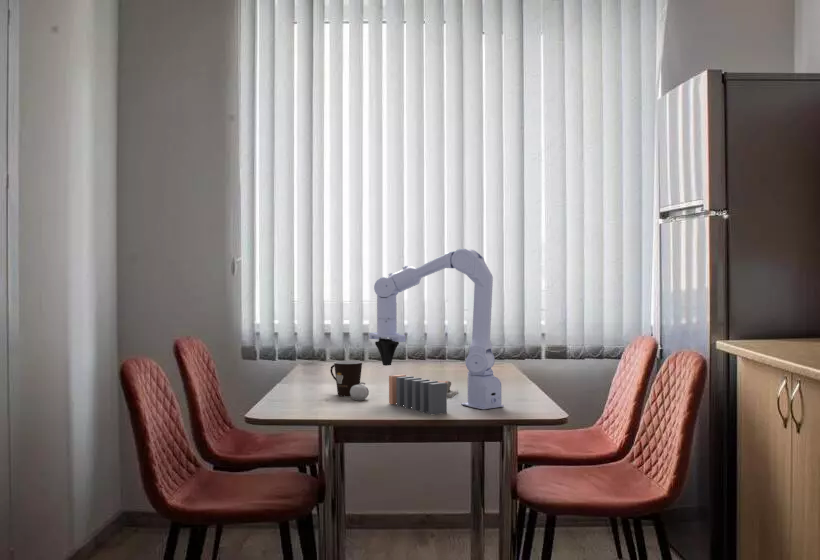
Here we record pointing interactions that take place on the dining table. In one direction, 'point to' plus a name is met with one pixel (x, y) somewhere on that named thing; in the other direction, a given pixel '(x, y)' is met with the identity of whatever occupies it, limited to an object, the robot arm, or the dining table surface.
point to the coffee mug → (346, 375)
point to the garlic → (359, 391)
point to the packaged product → (448, 389)
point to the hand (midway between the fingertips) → (387, 365)
